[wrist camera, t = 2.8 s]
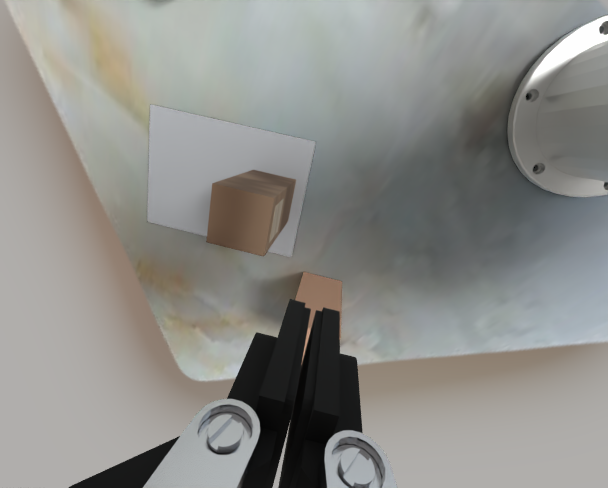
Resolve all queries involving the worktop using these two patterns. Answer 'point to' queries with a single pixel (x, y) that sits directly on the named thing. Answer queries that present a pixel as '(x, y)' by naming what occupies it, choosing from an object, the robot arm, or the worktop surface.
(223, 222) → the brown cardboard box
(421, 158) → the worktop surface
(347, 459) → the robot arm
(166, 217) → the mat
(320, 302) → the terracotta block
